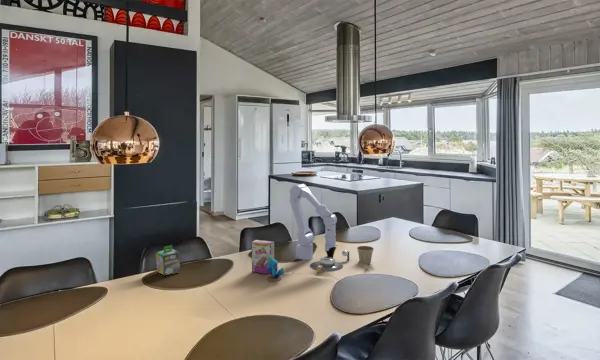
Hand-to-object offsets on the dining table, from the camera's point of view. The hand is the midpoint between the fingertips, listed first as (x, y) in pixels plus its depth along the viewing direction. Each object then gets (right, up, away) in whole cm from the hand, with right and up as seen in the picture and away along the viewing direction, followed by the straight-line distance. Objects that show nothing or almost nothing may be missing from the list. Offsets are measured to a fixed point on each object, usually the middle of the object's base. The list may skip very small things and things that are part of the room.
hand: (330, 260), depth 206 cm
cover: (-2, -1, -5) cm, 5 cm away
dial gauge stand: (+10, -2, +3) cm, 11 cm away
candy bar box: (-36, -4, -12) cm, 39 cm away
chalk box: (-86, -4, -13) cm, 87 cm away
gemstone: (-30, -5, -23) cm, 38 cm away
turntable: (-3, -2, -8) cm, 9 cm away
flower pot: (+19, -2, +1) cm, 20 cm away
